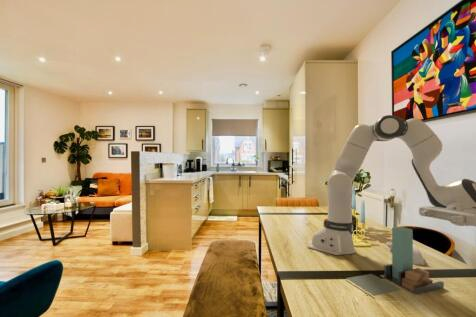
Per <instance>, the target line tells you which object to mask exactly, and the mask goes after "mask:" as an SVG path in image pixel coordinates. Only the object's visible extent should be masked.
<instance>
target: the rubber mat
mask: <svg viewBox="0 0 476 317" xmlns="http://www.w3.org/2000/svg"><path fill="white" fill-rule="evenodd" d="M345 281H346V282H347V283H349V284H350V285H351V286H354V287H355V288H356V289H358V290H360V291H362V293H364V294H366V295H368V296H369V297H371V298H373V300H375V299H376V297H375V296H380V295H384V294H389V293H393V292H398V291H402V290H403V288H402V289H401V287H400V288H399V287H398V286H397V285H394V284H392V283H390V282H388V281H387V280H386V279H385V280H384V278H382V277H380V276H377V275H375V274H373V273H369V274H363V275H357V276H351V277H350V276H349V277H346V280H345ZM361 288H362V289H361ZM370 294H371V295H370Z"/></svg>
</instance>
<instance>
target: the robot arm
mask: <svg viewBox="0 0 476 317" xmlns="http://www.w3.org/2000/svg"><path fill="white" fill-rule="evenodd" d="M396 138H397V139H399V140H402V141H403V142H404V143H405V144H406V146H407V147H408V149H409V150H410V153H411V154H412V159H411V164H412V167H413V169H414V171H415V174H416V176H417V177H418V179H419V181H420V183H421V185H422V186H423V189H424V190H425V192H426V193H425V194H426V195H427V196H426V197H427V199H428V200H429V203H430V204H431V205H432V206H429V205H428V206H427V205H425V206H424V205H423V206H419V208H418V214H419V215H420V216H421V217H426V218H432V219H438V220H442V221H443V220H444V221H447V222H450V223H451V224H453V225H454V226H459V227H463V226H465V227H476V182H475V181H473V180H471V179H469V178H463V179H459V180H457V181H452V182H451V183H447V184H444V185H439V184H438V183H437V181H436V179H435V177H434V176H433V174H432V172H431V169H430V167H431V164H432V163H433V162H434V160H435V159H436V158H438V157H439V155H440V154H441V152H442V151H443V143H442V141H441V139H440V138H439V136H438V135H437V134H436V133H435V132H434V131H433V130H432V128H430V127H429V126H428V124H427V123H425V122H424V121H423V120H421V119H420V118H417V117H413V118H409V119H404V118H401V117H398V116H396V115H392V114H388V115H384V116H381V117H379V118H378V119H377V120H376V121H375V122H374V123H373V124H372V125H368V124H364V123H362V124H358V125H355V126H354V128H353V129H352V130H351V132H350V133H349V134H348V136H347V139H346V140H345V143H344V144H343V146H342V149H341V151H340V152H339V155H338V158H337V160H336V162H335V164H334V166H333V169H332V170H331V173H330V175H329V176H328V177H327V181H326V182H327V183H326V190H327V194H326V195H327V217H325V218H324V220H323V226H322V227H321V228H319V229H317V230H315V231H314V233H313V234H312V237H311V239H310V240H309V241H308V242H307V245H306V246H307V248H308V249H312V250H315V251H319V252H324V253H327V254H331V255H334V256H340V255H341V256H342V255H351V254H354V253H356V248H355V244H354V239H353V238H354V237H353V234H354V225H353V224H354V223H353V220H352V219H353V216H352V215H353V214H352V212H353V182H354V180H355V178H356V176H357V173H358V172H359V170H360V169H361V167H362V164H363V162H364V160H365V158H366V156H367V154H368V152H369V150H370V148H371V146H372V145H373V142H388V141H391V140H393V139H396Z"/></svg>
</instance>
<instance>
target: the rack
mask: <svg viewBox="0 0 476 317" xmlns="http://www.w3.org/2000/svg"><path fill="white" fill-rule="evenodd" d="M383 268H384V269H383V271H384V272H383V274H381V275H379V277H380V278H382V279H385V280H386V281H389V282H391V284H392V283H393V285H394V284H395V286H397V287H398V286H399V287H400V288H402V289H404V290H406V291H408V292H410V293H412V294H414V295H420V294H424V293H430V292H432V291H433V292H434V291H438V290H443V289H444V288H445V287H444V286H445V283H444V281H442V280H441V281H436V282H433V283H430V284H425V285H420V286H416V287H413V291H411V290H409V289H407V288H405V287H404V286H402V278H405V271H409V270H405V271H400V272H398V273H399V280H398V279H396V278H394V277H392V263H390V264H384V265H383ZM418 268H419V269H421V268H420V267H418ZM411 270H412V269H411Z"/></svg>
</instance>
